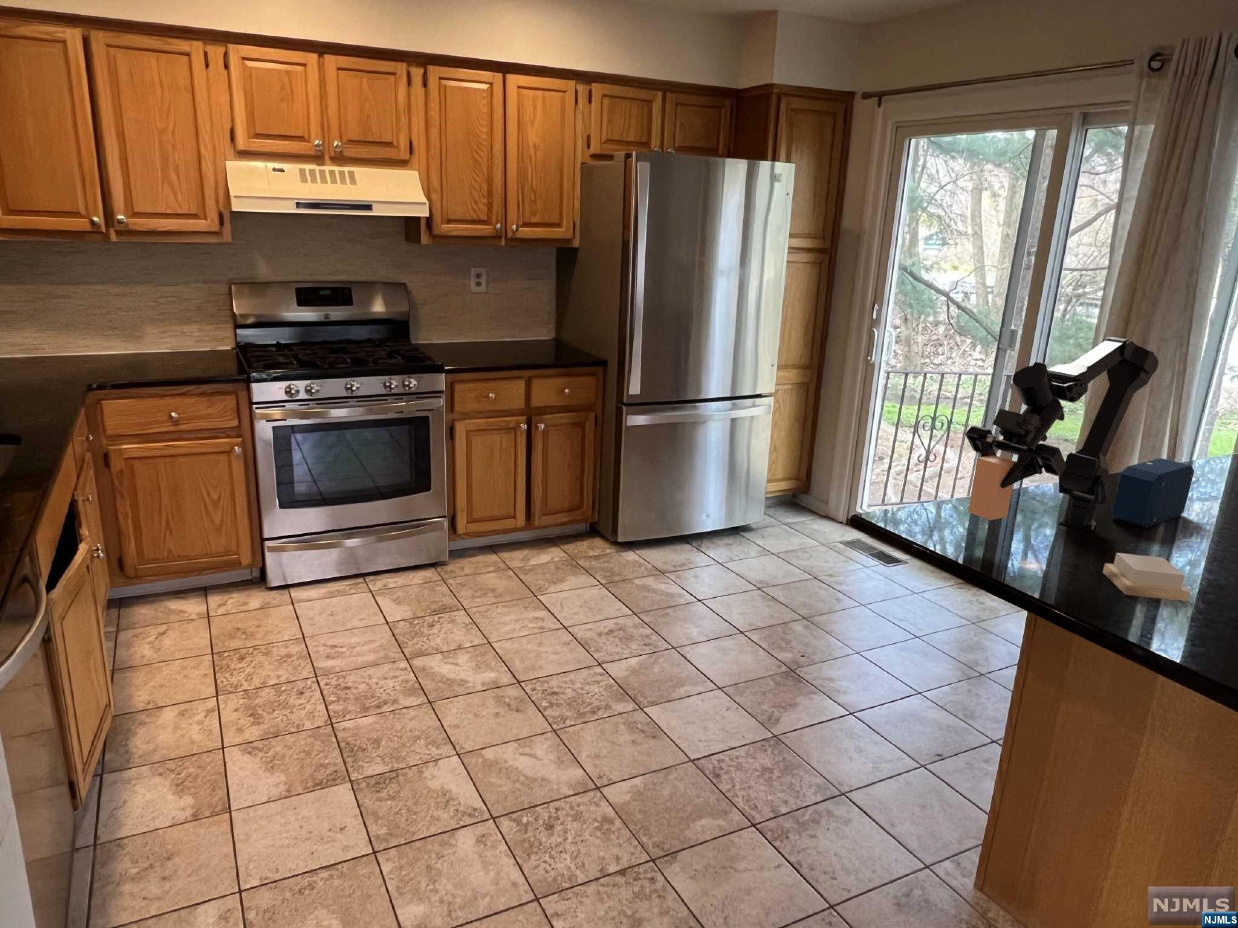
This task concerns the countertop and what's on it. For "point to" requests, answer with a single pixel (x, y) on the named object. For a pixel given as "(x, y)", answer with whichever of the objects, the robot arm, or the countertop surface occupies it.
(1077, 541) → the countertop surface
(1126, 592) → the tower base
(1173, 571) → the tower top
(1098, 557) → the countertop surface
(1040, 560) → the countertop surface
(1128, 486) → the navy rounded box
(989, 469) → the pillar block
